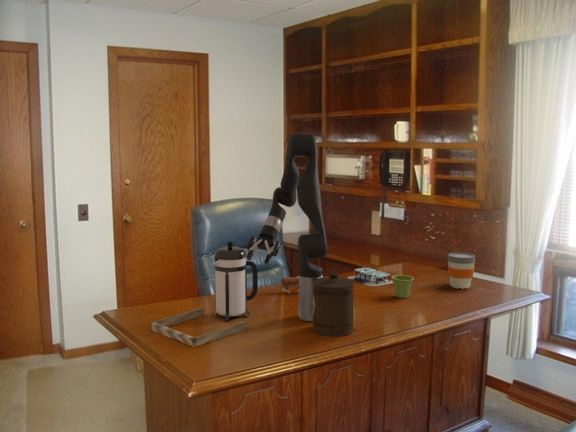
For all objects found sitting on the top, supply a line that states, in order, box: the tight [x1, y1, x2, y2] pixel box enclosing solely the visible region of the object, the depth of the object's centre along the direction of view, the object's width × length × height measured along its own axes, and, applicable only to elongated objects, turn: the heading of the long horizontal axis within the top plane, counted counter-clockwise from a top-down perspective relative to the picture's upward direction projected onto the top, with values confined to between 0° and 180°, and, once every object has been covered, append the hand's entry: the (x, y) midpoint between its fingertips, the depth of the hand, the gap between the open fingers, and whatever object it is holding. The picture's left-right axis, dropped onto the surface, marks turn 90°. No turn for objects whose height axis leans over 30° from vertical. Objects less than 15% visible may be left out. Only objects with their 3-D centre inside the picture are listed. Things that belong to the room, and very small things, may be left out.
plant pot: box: [391, 274, 414, 299], centre depth 255 cm, size 9×9×9 cm
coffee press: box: [211, 241, 259, 322], centre depth 228 cm, size 17×16×30 cm
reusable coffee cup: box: [447, 252, 476, 290], centre depth 272 cm, size 13×12×15 cm
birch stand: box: [149, 307, 247, 346], centre depth 212 cm, size 25×24×3 cm
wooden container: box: [312, 270, 355, 337], centre depth 211 cm, size 15×15×22 cm
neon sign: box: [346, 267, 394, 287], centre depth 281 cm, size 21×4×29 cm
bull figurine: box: [280, 276, 299, 295], centre depth 261 cm, size 4×13×8 cm, turn 89°
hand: (257, 261), depth 243 cm, fingers open, 8 cm apart
